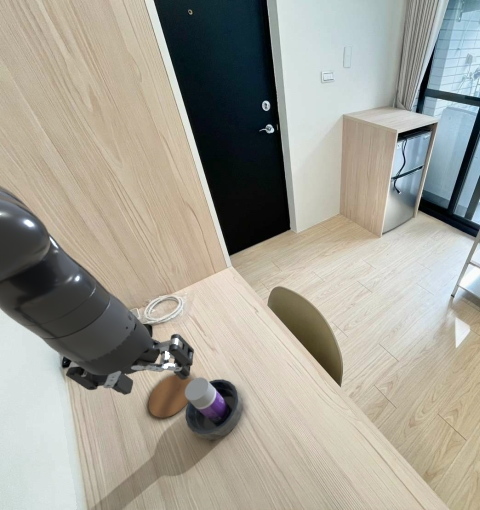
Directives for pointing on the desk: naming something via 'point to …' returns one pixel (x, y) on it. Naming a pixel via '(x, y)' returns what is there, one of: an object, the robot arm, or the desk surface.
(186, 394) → the container
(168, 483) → the desk surface
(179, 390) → the coaster
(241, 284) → the desk surface
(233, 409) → the bowl
